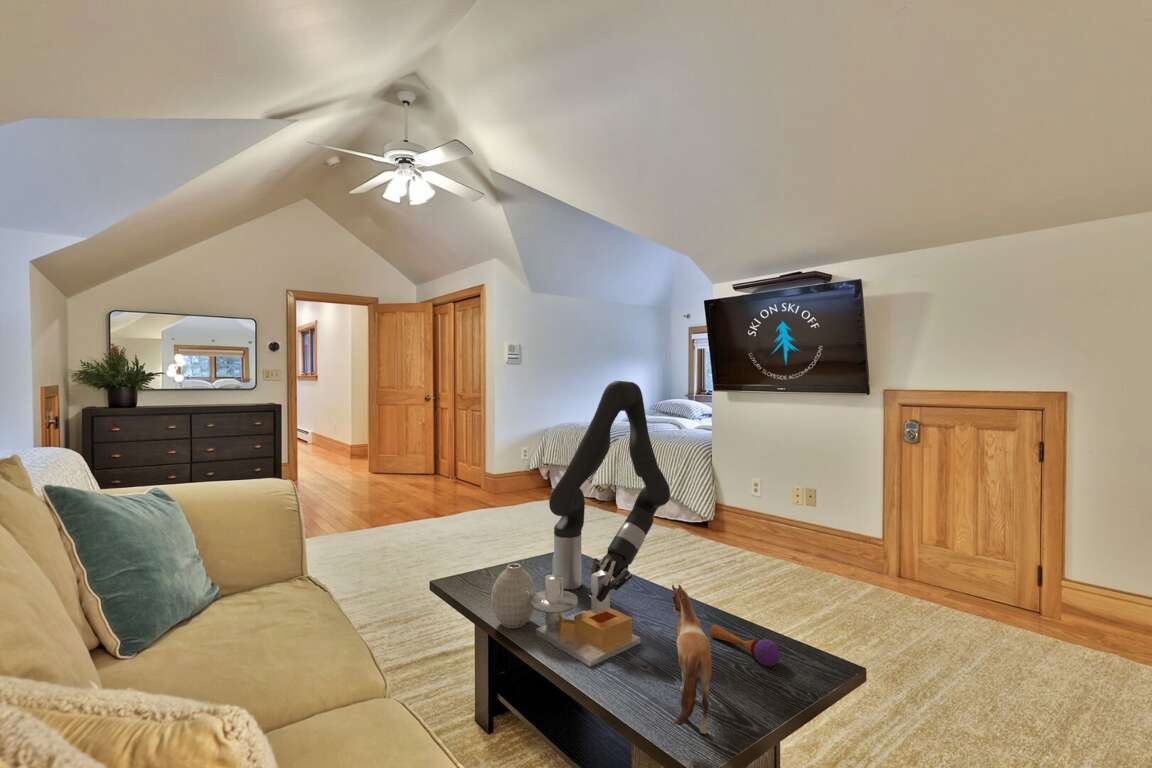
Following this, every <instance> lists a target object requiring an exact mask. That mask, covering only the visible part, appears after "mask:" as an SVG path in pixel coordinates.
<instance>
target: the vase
mask: <svg viewBox="0 0 1152 768" xmlns="http://www.w3.org/2000/svg"><path fill="white" fill-rule="evenodd" d="M536 593H537V587H536V585H535V582H534V580H533V578H532V576H531V575H530V574H529V573H528V572H527V571H526V570H525V569H523V568H522V565H521V564H519V563H509V564H508V565H507V566H506V568H505V569H504V570H503V571H502V572H501V573H500V574H499V575H498V577H497V578H496V579H495V581H494V584H493V586H492V590H491V596H490V597H491V598H490V600H491V602H490V603H491V609H492V612H493V613H494V617H495V618H496V619H497V621H498V622H499V623H500V624H501V625H502V626H503V627H504V628H506V629H510V628H512V629H513V630H514V628H515V629H520V628H522V627H523V626H525V625H526V624H527V623H528V622H529V621H530V620H531V618H532V616H533V615H534V612H535V611H536V610H535V609H534V608H532V607H531V605H530V599H531V597H532V596H533V595H534V594H536Z"/></svg>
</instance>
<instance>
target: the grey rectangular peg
mask: <svg viewBox="0 0 1152 768" xmlns="http://www.w3.org/2000/svg"><path fill="white" fill-rule="evenodd" d="M607 574H608V572H606V571H599V572H596V573H593V574H591V573H590V582H591V583H590V588H591V597H590V599H591V600H590V603H591V604H590V608H591V609H590V610H591V612H593V613H595V614H597V615H598V614H601V613H603V612H606V611H608V610H610V608H611V605H610V603H611V601H610V599H611V597H610V596H611V595H610V594H611V593H610V591H611V590H610V591H609V593H608V594H607V596H606V598H605V599H604V600H603V601H602V602H600V601H598V600H597V599H596V596H597V594H598V593H599V591H600V590H601V588H602V586H604V583H605V581H606V579H607Z"/></svg>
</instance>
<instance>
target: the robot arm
mask: <svg viewBox="0 0 1152 768" xmlns="http://www.w3.org/2000/svg"><path fill="white" fill-rule="evenodd" d="M620 412H625V415H626V417H627V419H628V424H629V442H628V450H629V455H630V458H631V459H630V460H631V462H632V466H633V469H634V472H635V474H636V476H637V477H639V478H641V479H642V481H643V484H644V487H643V488H642V489H641V490H640V492H639V493H638V495H637V497H636V499H635V502H634V503H633V504H634V505H633V506H632V509H631V511H630V513H629V514H628V515H627V518H626V519H625V520H624V522H623V524H622V525H621V526H620V527H619V529H618V531H617V532H616V534H615V536H614V537H613V539H612V541H611V542H610V544H609V546H608V548H607V553H606V554H605V555H604V556H603V557H602V558H599V559H598V558H597V557H595V558H594V559H593V562H592V568H591V573H590V575H591V574H593V573H596V572H599V571H606V572H608V574H607V579H606V581H605V583H604V586H602V588H601V590H600V591H599V593H598V594H597V596H596V599H597V600H598V601H600V602H602V601H603V600H604V599H605V598H606V596H607V594H608V593H609V591H612V590H614V591H618V590H619V589H620V588H622V587H623V586H624V585H625V584H626V583H627V582H628V581H630V580H631V579H633V574H632V573H631V572H630V571H629V570H628V569H629V566H630V565H631V564H632V563H633V562H634V560H635V557H636V556H637V555H638V553H639V551H640V549H641V547H642V546H643V543H644V541H645V539H646V537H647V535H648V533H649V531H650V530H651V528H652V526H653V523H654V515H655V513H657V511H658V509H659V508H660V507H663V506H664V505H666V504H668V503H669V501H670V499H671V490H670V486H669V483H668V481H667V479H666V478H665V476H664V473H663V472H662V471H661V469H660V467H659V465H658V461H657V458H656V455H655V452H654V449H653V446H652V443H651V438H650V434H649V429H648V423H647V415H646V409H645V404H644V396H643V392H642V390H641V388H640V386H639V385H638V384H637V383H635V382H633V381H627V380H613V381H611V382H609V384H608V385H607V386H606V387H605V388H604V391H603V393H602V394H601V397H600V400H599V403H598V405H597V408H596V411H595V414H594V415H593V418H592V419H591V421H590V423H589V426H588V427H587V430H586V431H585V434H584V435H583V437H582V438H581V441H580V442H579V444H578V447H577V448H576V451H575V452H574V454H573V457H572V459H571V460H570V462H569V464H568V466H567V468H566V470H565V471H564V474H563V475H562V477H561V478H560V480H559V481H558V483H557V484H556V485H555V487H554V488H553V489H552V492H551V494H550V496H549V499H548V500H549V501H548V506H549V510H550V512H551V513H552V514H553V515H555V516H557V517H560V519H559V521H558V522H556V524H555V525H554V527H553V555H552V561H551V562H552V565H551V566H552V567H551V568H552V570H551V571H552V572H551V574H558V575H561V576H563V590H564V589H565V590H564V591H568V590H569V589H571V590H576V589H579V588H580V587H581V586H582V531H583V527H584V525H585V508H586V506H585V504H586V503H585V495H584V492H583V490H582V489H581V487H582V486H583V485H584V483H585V482H586V481H587V480H588V479H589V478H590V477H591V476H592V475H593V474H594V473H595V472H597V470H598V469H599V468H600V467H601V465H602V463H603V462H604V460H605V458H606V456H607V454H608V453H609V451H610V447H611V429H612V426H613V424H614V422H615V420H616V418H617V417H618V415H619V414H620ZM566 589H567V590H566ZM587 594H588V596H589V597H590V598H591V587H590V588H589V590H588V593H587Z"/></svg>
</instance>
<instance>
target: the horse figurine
mask: <svg viewBox="0 0 1152 768" xmlns="http://www.w3.org/2000/svg"><path fill="white" fill-rule="evenodd" d="M677 586H678V588H676V587H675V586H674V584H671V589H672V591H673V594H672V596H671V598H672V601H673V603H674V608H673V613H674V614H675V616H677V617H680V620H679V621H678V625H677V629H676V636H677V639H676V648H677V656H678V666H679V668H681V678H682V681H681V686H680V687H679V691H680V692H681V693H682V695H681V700H680V712H679V715H678V717H677V718H675V720H673V722H672V723H673V724H674V725H677V726H682V725H684V724H686V722H687V720H688V719H690V717H691V716H692V714H693V712H694V709H695V706H696V696H697V689H698V687H697V686H698V683H697V682H698V681H697V680H698V679H697V678H698V677H699V679H700V685H701V686H700V687H701V691H702V697H701V698H702V699H701V704H702V705H701V706H702V709H703V718H702V721H701V725H700V728H699V733H701V734H704V735H707V734H708V709H709V698H708V696H709V691H710V679H711V677H712V650H711V648H712V647H711V643H710V639H709V637H708V636H707V635H706V634H705V633H704V631H703V626H702V624H701V621H700V620H699V618H698V617H697V614H696V612H695V610H694V607H693V604H692V601H691V599H690V597H689V595H688V593H687V592H686V591H685V590H684V589H683V587H682V586H681V584H678V585H677Z"/></svg>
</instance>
